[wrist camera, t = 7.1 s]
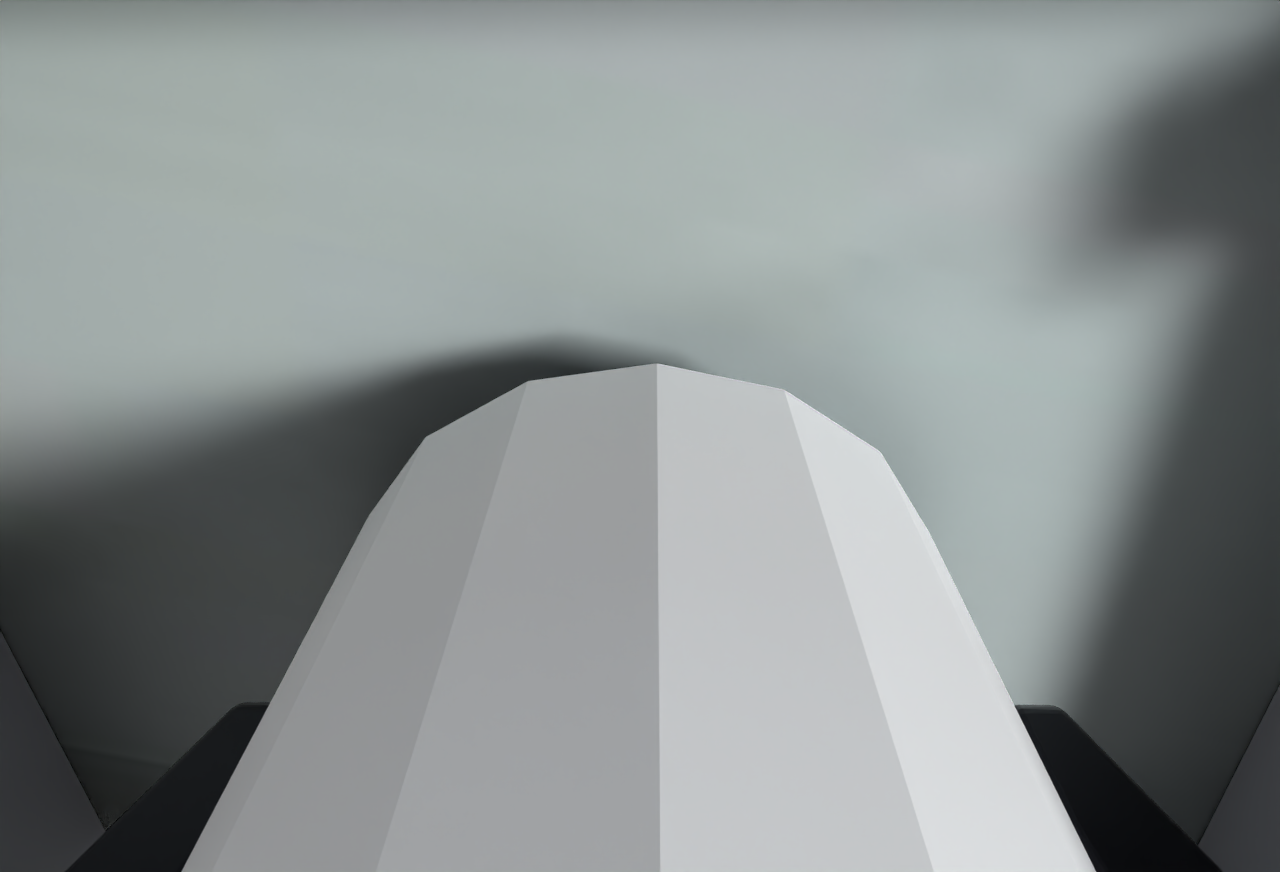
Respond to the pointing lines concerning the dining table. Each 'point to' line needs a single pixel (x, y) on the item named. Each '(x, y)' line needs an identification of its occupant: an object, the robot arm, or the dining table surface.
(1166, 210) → the dining table surface
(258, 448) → the dining table surface
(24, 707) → the two-slot open tray
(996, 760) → the light grey cup
